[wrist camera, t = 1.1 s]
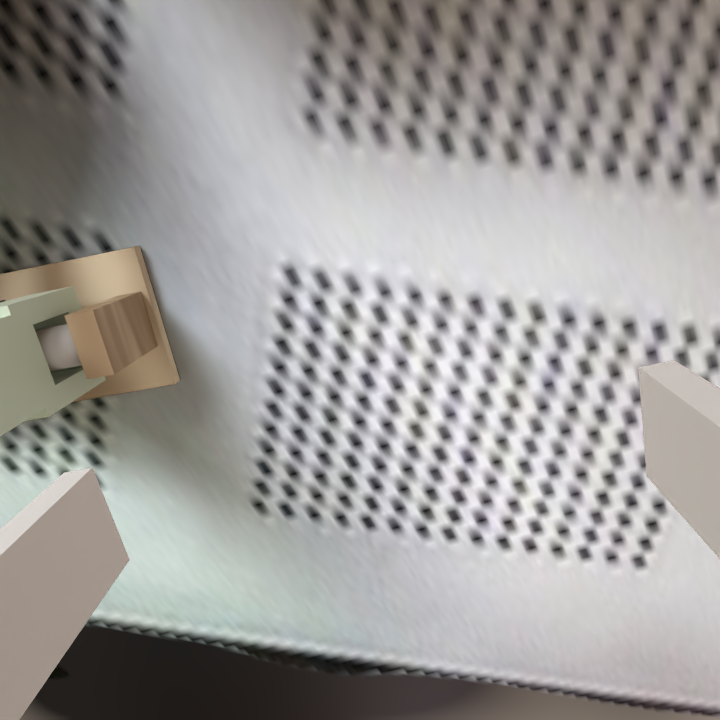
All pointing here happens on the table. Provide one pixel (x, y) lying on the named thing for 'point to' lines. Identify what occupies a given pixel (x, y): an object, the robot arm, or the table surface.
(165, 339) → the pipe stand
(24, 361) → the pale green upright panel
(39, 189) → the table surface
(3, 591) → the robot arm
